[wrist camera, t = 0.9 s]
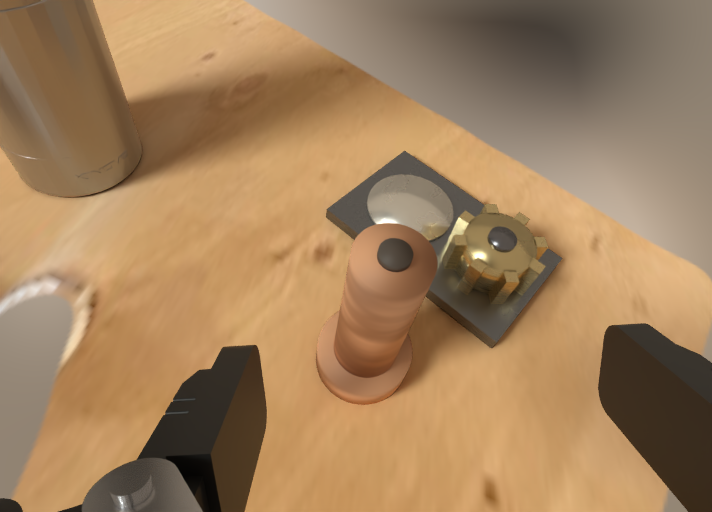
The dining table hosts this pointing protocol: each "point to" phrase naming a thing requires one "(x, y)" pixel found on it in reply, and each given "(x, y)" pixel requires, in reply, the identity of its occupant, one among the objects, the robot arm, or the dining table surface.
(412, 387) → the dining table surface
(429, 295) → the carrier plate
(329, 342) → the brown round post
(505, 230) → the sun gear
